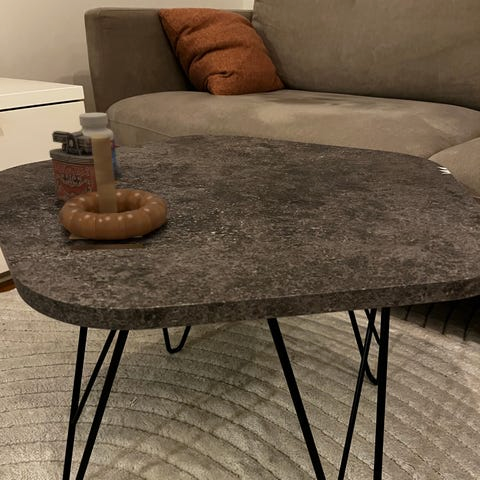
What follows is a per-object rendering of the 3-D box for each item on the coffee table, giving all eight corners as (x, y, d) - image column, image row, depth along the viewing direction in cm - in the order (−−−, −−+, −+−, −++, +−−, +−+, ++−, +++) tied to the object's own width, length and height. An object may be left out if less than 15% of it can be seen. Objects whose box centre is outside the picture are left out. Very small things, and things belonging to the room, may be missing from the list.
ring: (51, 244, 63) (47, 219, 62) (73, 209, 73) (70, 187, 72) (164, 242, 63) (162, 217, 62) (170, 207, 74) (169, 185, 73)
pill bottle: (111, 186, 88) (103, 118, 83) (76, 185, 88) (67, 117, 84) (123, 177, 92) (116, 111, 88) (90, 175, 93) (82, 111, 89)
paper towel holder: (70, 250, 65) (54, 144, 60) (82, 226, 72) (69, 129, 67) (143, 248, 66) (134, 143, 60) (148, 224, 73) (140, 128, 67)
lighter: (115, 211, 77) (106, 133, 73) (97, 218, 75) (87, 137, 70) (70, 202, 81) (59, 126, 76) (51, 209, 78) (39, 131, 74)
